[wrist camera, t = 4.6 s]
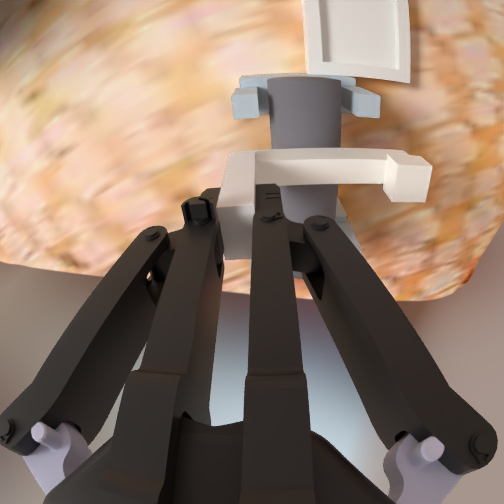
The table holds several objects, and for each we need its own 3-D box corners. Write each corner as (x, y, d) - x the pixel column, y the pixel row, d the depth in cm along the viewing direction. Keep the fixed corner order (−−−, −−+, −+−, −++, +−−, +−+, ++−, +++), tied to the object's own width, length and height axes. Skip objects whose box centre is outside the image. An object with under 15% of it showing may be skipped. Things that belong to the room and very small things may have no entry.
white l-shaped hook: (254, 144, 17) (254, 166, 14) (406, 144, 16) (432, 166, 13) (257, 178, 18) (257, 206, 15) (402, 176, 18) (424, 202, 15)
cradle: (238, 76, 22) (230, 85, 15) (344, 74, 21) (380, 85, 15) (253, 223, 32) (252, 277, 25) (338, 219, 31) (358, 270, 25)
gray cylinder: (265, 77, 18) (268, 83, 15) (331, 77, 18) (350, 84, 14) (275, 244, 29) (278, 280, 25) (325, 242, 28) (335, 277, 24)
